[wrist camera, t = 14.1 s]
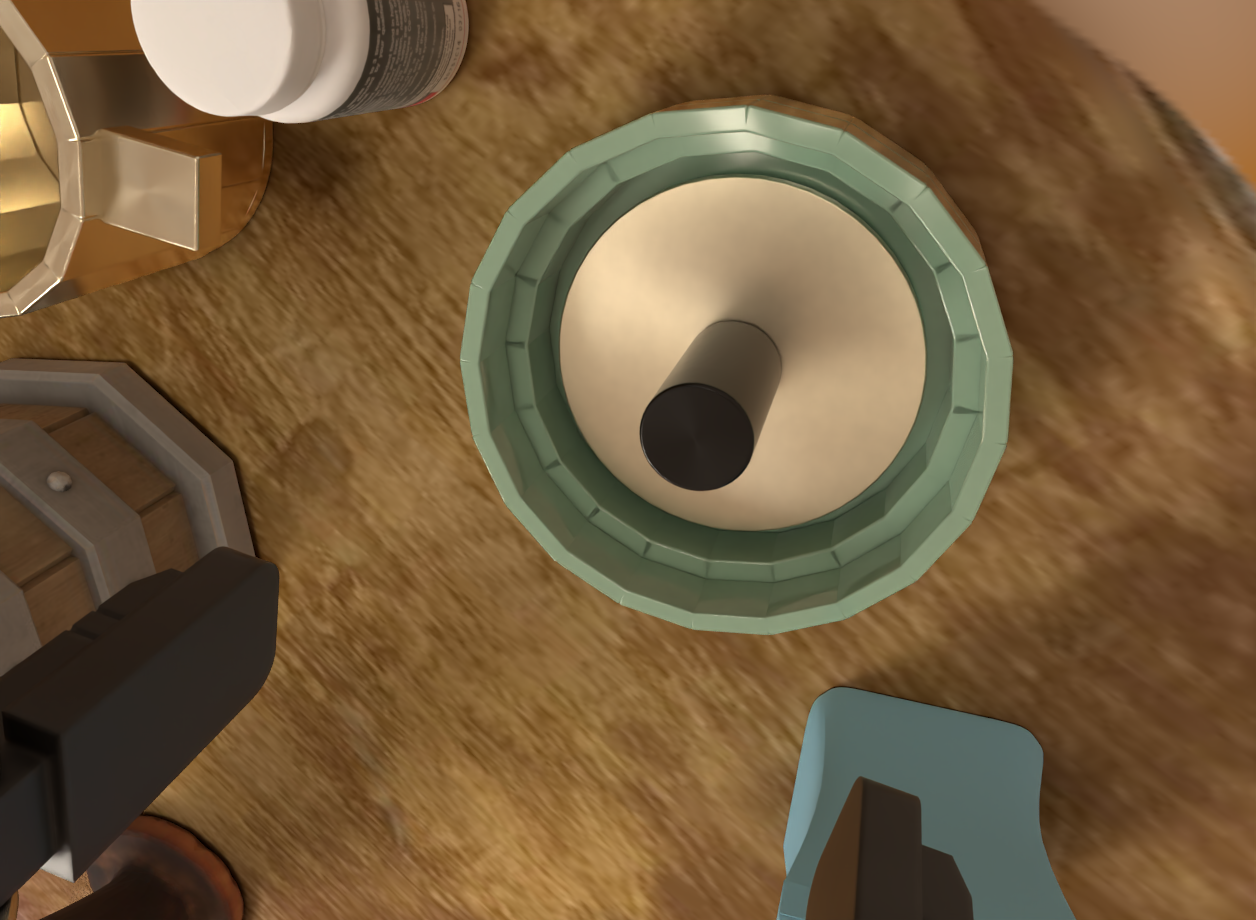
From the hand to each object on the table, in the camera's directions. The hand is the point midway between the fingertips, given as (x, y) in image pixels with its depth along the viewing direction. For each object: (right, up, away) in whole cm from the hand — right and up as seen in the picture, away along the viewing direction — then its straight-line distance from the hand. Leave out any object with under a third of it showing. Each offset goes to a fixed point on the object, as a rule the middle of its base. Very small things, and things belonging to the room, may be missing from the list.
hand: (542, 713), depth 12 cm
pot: (-15, +15, +19) cm, 28 cm away
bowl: (+5, +7, +16) cm, 18 cm away
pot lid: (+4, +6, +16) cm, 17 cm away
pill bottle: (-5, +16, +15) cm, 23 cm away
